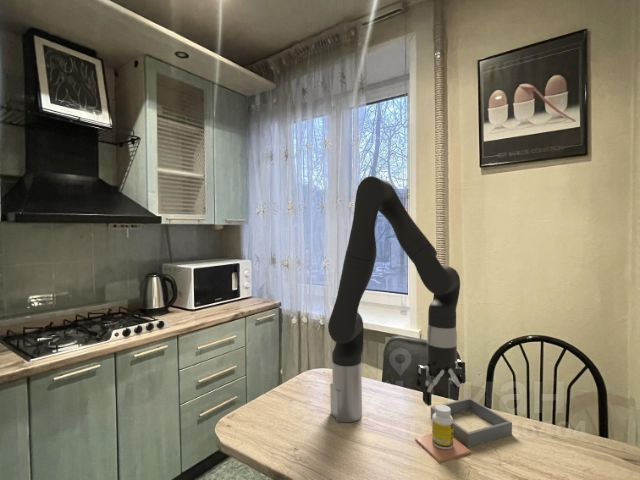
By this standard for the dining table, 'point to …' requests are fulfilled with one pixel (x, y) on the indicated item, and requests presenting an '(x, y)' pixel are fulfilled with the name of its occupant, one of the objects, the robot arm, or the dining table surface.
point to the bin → (479, 436)
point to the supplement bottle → (442, 427)
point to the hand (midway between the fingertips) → (440, 401)
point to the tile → (439, 453)
